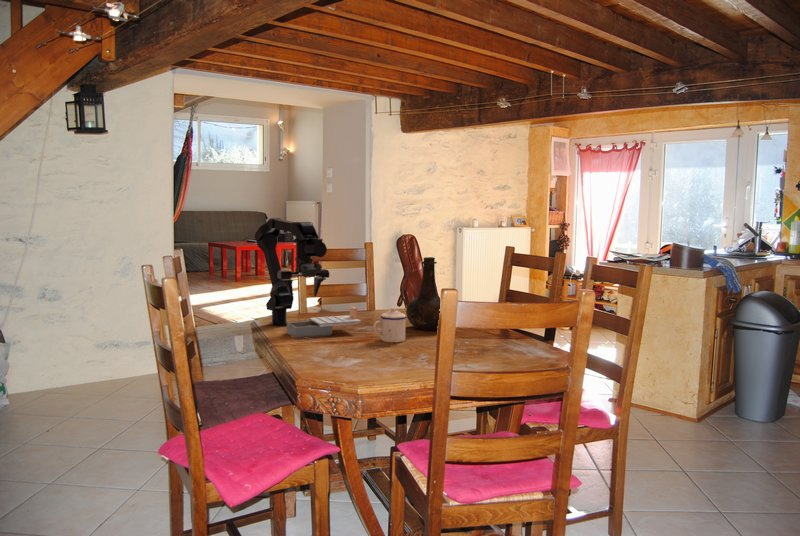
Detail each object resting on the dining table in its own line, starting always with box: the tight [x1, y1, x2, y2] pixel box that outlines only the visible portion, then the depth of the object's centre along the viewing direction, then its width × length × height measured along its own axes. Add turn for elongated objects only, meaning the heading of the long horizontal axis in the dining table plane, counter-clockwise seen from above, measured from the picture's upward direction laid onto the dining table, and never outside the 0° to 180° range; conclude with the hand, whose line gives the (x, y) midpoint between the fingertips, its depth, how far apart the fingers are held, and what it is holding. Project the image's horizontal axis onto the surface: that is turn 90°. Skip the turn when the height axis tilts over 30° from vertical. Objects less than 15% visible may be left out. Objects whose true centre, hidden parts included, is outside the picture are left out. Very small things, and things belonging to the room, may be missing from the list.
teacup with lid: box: [373, 307, 407, 343], centre depth 227 cm, size 12×9×12 cm
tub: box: [286, 320, 333, 339], centre depth 234 cm, size 10×14×4 cm
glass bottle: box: [405, 256, 441, 331], centre depth 249 cm, size 18×18×28 cm
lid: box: [309, 306, 362, 327], centre depth 238 cm, size 12×16×5 cm
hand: (303, 296), depth 239 cm, fingers open, 9 cm apart
